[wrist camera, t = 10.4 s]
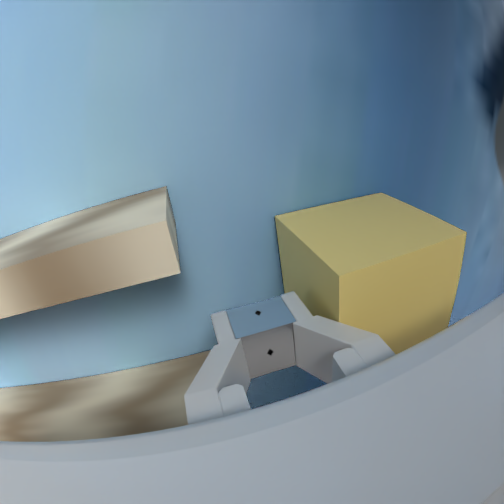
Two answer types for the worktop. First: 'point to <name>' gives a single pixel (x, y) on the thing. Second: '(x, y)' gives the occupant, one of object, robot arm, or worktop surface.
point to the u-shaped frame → (84, 285)
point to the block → (373, 266)
